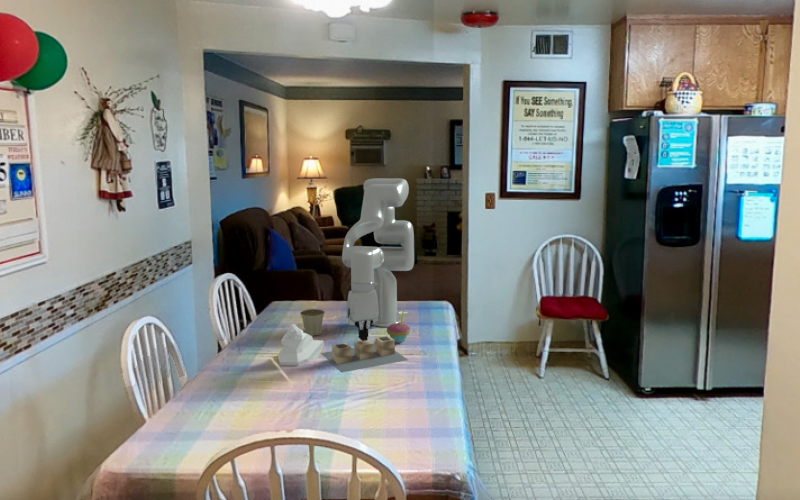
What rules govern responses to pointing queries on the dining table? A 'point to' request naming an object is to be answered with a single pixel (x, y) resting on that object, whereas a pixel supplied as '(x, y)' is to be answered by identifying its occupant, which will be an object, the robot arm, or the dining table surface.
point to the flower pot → (312, 321)
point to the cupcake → (398, 331)
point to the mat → (365, 361)
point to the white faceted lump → (298, 347)
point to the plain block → (363, 349)
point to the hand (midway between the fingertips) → (363, 339)
